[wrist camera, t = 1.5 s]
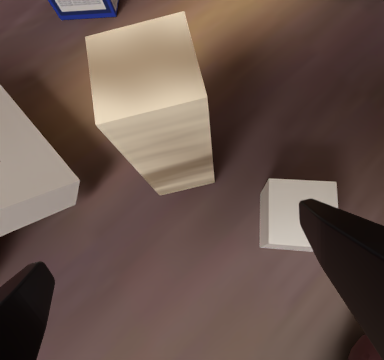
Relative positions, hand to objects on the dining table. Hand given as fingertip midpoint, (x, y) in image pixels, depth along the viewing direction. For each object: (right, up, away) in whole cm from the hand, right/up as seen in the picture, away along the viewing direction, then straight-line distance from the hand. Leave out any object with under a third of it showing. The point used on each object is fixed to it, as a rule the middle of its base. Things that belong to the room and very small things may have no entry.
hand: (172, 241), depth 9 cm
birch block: (0, +4, +16) cm, 16 cm away
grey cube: (+9, -1, +13) cm, 16 cm away
